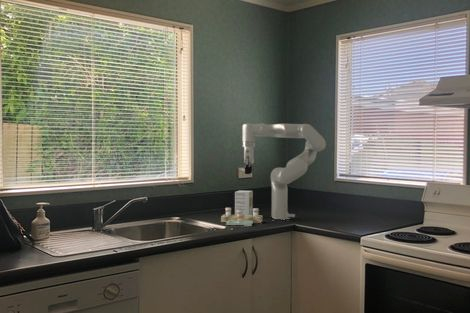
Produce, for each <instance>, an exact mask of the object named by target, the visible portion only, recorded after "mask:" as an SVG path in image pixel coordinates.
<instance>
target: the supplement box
mask: <svg viewBox="0 0 470 313" xmlns="http://www.w3.org/2000/svg"><path fill="white" fill-rule="evenodd" d="M253 192H254V191H253V190H237V191H234V215H237V210H243V214H242V215H253V206H254V205H253V204H254V203H253V202H254V200H253V198H254V196H253V195H254V193H253Z"/></svg>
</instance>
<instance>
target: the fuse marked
mask: <svg viewBox="0 0 470 313" xmlns="http://www.w3.org/2000/svg"><path fill="white" fill-rule="evenodd" d="M242 214H243V210H237V223H243V221H242Z"/></svg>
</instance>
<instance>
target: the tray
mask: <svg viewBox="0 0 470 313" xmlns="http://www.w3.org/2000/svg"><path fill="white" fill-rule="evenodd" d="M242 221H243V220H242ZM252 224H253V221H243V223H237V220H228V221H227V222H226V223H225V226H226V225H244V226H243V227H249V226H251V227H252V226H253V225H254V224H253V225H252Z"/></svg>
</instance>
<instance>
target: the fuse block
mask: <svg viewBox="0 0 470 313" xmlns="http://www.w3.org/2000/svg"><path fill="white" fill-rule="evenodd" d="M263 218H264V217H263V215H259V214H258V217H253V215H242V220H243V221H253V223H261V222H262V223H263V220H264V219H263ZM228 220H237V215H235V214H231V216H226V214H222V215H221V217H220V223H221V222H227V221H228ZM262 223H261V224H262Z"/></svg>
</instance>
